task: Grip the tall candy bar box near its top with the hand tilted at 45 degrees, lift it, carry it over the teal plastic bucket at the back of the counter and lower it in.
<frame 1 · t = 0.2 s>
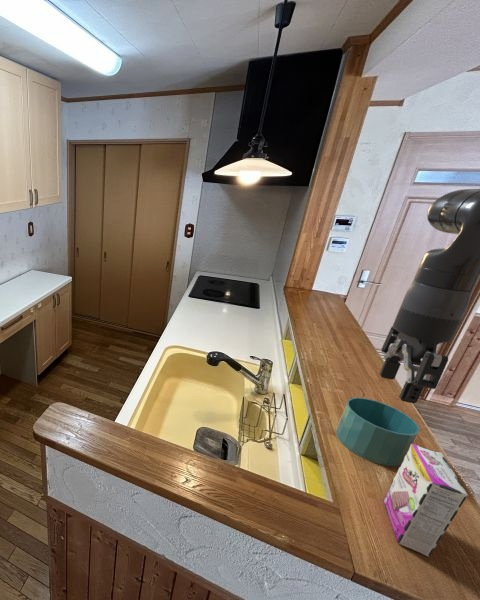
hand: (395, 388, 61), 29 cm above the worktop, tool pointing down, fingers open, 8 cm apart
candy bar box: (402, 527, 66), on the worktop
bucket: (367, 444, 88), on the worktop
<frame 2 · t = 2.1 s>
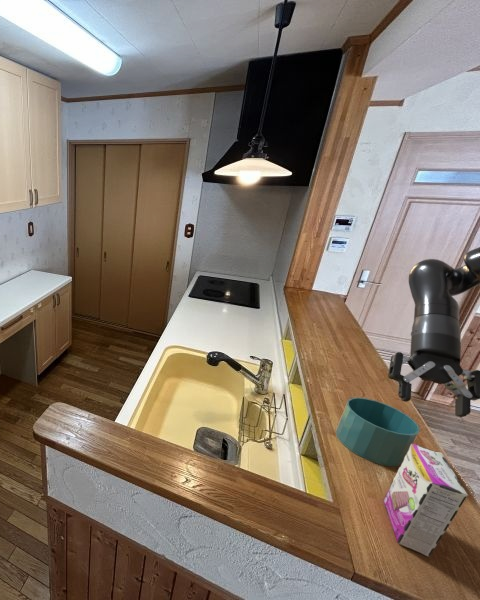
hand: (432, 408, 67), 23 cm above the worktop, tool tilted 45°, fingers open, 8 cm apart
nothing on the worktop moved.
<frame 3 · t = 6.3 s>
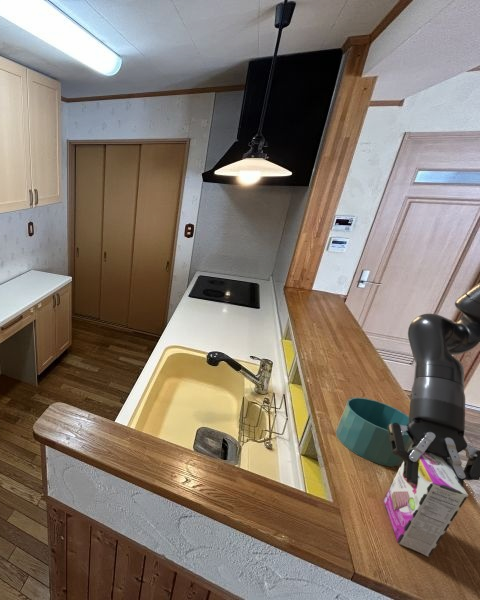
hand: (431, 490, 61), 12 cm above the worktop, tool tilted 45°, fingers closed on candy bar box, 5 cm apart
candy bar box: (402, 527, 66), on the worktop, touching gripper
when the fingers open (13 cm above the worktop, at t = 17.1 s): candy bar box stays where it is, resting on bucket.
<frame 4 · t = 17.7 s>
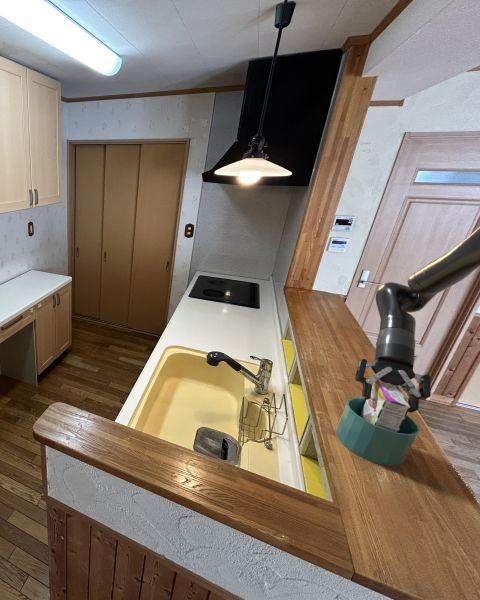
hand: (388, 405, 82), 14 cm above the worktop, tool tilted 45°, fingers open, 8 cm apart
candy bar box: (368, 442, 88), point 1 cm above the worktop, touching bucket
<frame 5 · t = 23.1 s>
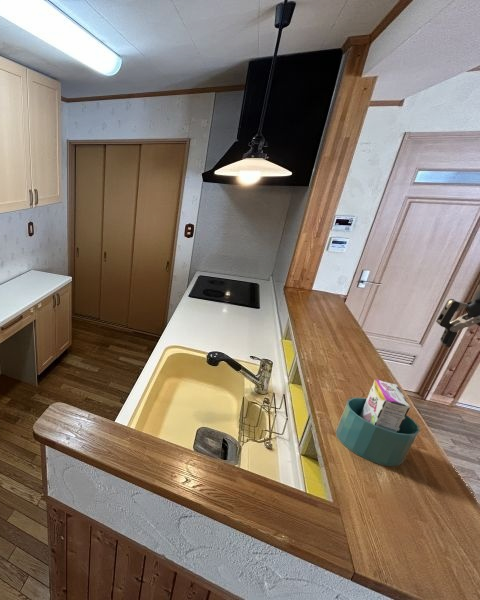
hand: (473, 351, 70), 33 cm above the worktop, tool pointing down, fingers open, 8 cm apart
nothing on the worktop moved.
at the end: candy bar box inside the target area in the bucket (0.2 cm from its centre), point 0.6 cm above the bucket's base; the gripper is holding nothing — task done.
